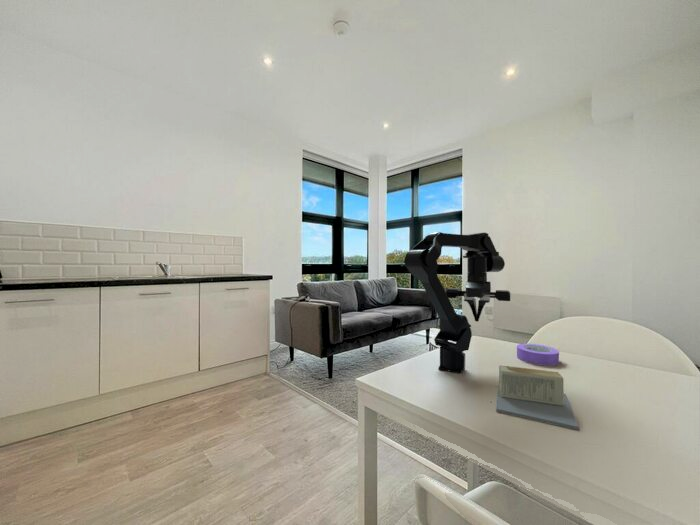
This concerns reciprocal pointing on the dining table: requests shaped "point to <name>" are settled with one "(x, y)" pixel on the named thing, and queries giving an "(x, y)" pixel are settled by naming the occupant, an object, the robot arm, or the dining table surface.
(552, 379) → the skincare box
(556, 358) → the masking tape
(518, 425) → the dining table surface
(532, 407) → the mat
